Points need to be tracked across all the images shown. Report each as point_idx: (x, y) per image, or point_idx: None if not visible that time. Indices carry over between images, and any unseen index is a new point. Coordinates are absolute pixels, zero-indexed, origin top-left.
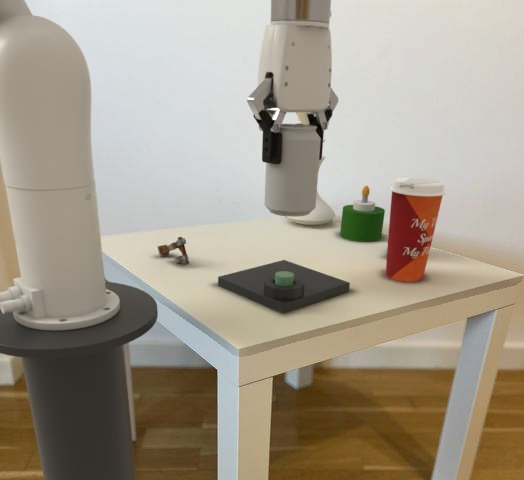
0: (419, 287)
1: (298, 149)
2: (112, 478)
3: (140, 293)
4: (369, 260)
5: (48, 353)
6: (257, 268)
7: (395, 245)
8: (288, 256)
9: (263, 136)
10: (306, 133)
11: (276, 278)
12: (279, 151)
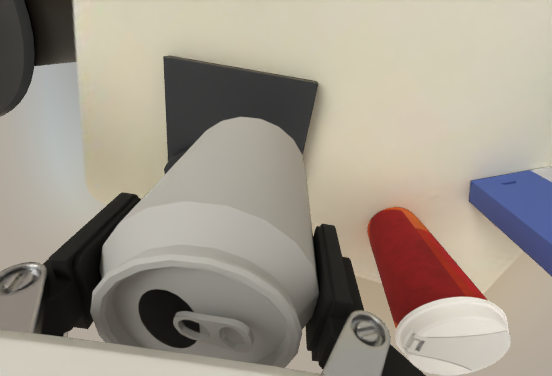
0: (359, 251)
1: (166, 310)
2: None
3: (9, 23)
4: (442, 165)
5: None
6: (244, 79)
7: (379, 252)
8: (386, 42)
9: (48, 262)
10: None
11: None
12: None
